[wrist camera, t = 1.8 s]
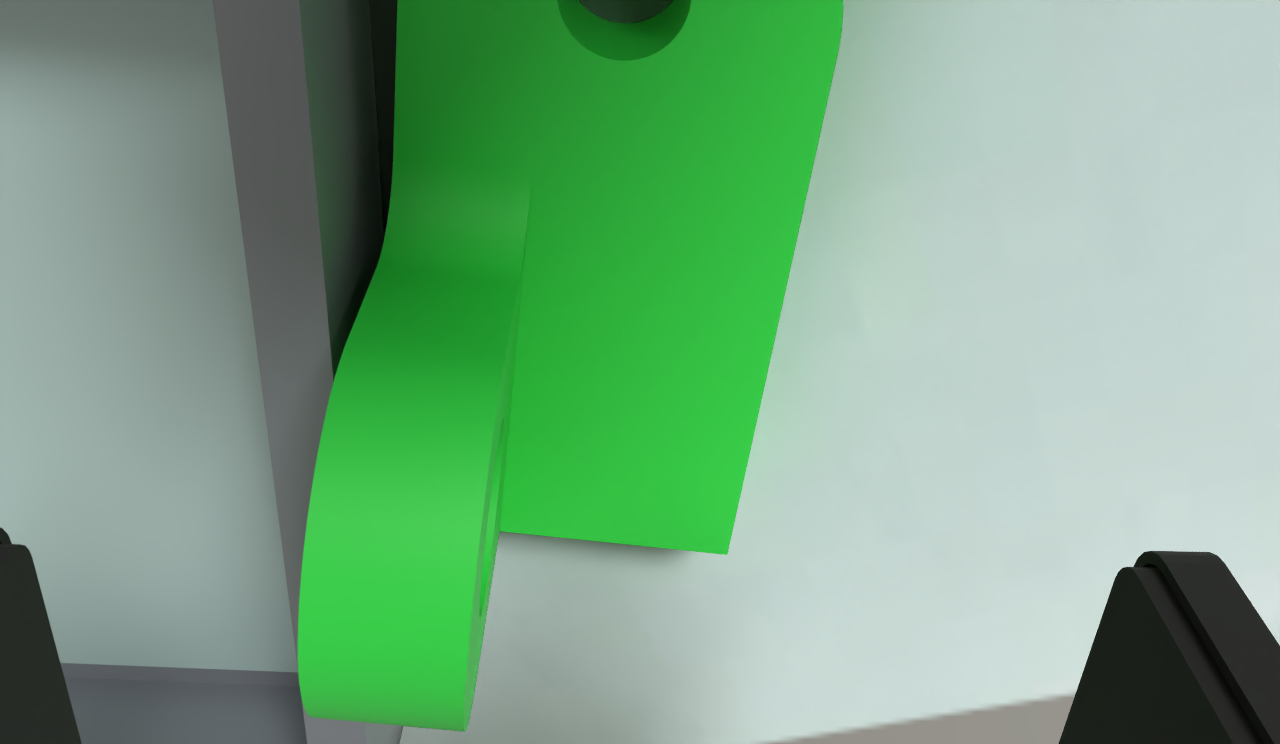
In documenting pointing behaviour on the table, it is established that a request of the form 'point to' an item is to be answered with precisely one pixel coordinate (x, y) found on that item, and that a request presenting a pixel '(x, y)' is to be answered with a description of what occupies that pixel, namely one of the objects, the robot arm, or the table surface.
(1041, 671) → the table surface
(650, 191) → the mechanical part
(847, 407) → the table surface
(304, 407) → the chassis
